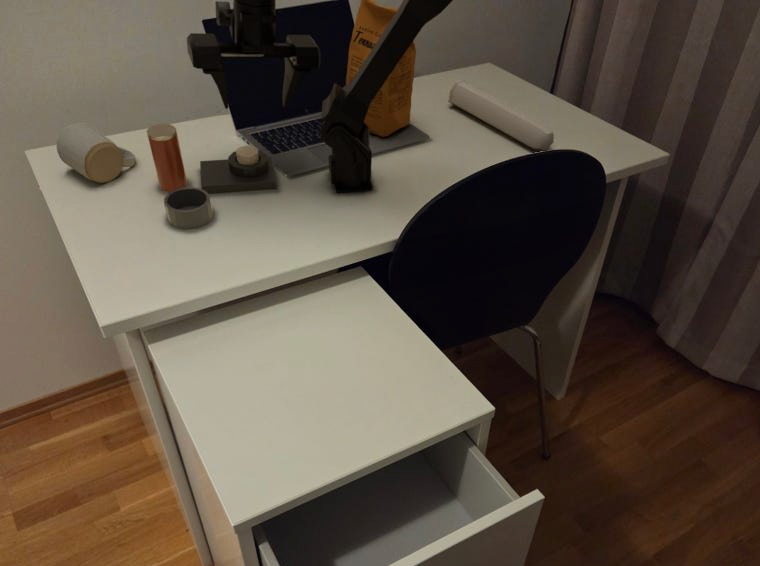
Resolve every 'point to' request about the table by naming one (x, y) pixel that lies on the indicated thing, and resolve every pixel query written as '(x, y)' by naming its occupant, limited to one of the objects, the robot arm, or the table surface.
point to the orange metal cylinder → (167, 157)
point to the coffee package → (396, 92)
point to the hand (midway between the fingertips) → (255, 106)
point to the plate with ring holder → (237, 175)
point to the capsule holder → (188, 208)
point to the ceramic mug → (92, 153)
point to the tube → (501, 116)
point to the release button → (247, 155)
